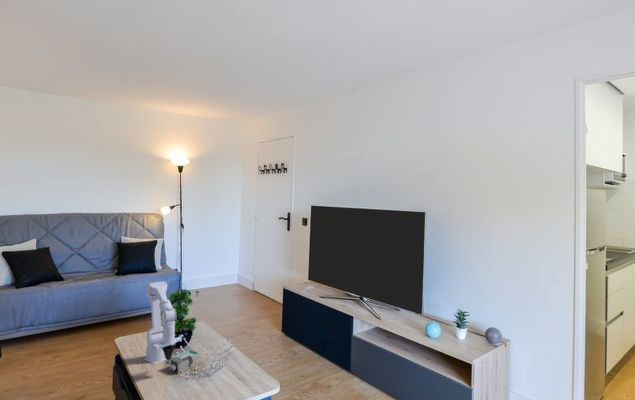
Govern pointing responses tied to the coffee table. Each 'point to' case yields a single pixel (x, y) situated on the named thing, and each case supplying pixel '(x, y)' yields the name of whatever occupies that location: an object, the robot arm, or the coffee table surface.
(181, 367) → the socket
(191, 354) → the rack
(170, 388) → the coffee table surface
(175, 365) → the drill
